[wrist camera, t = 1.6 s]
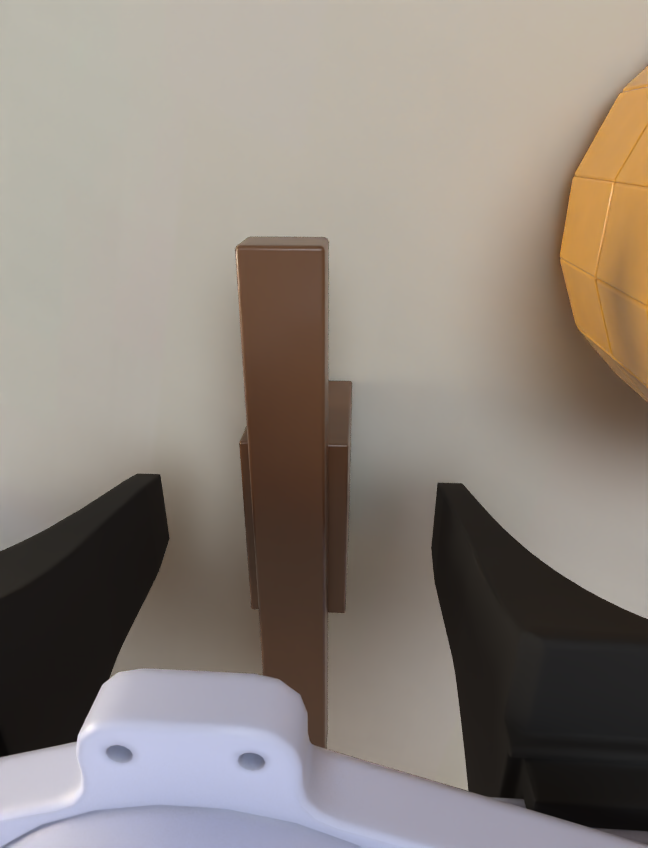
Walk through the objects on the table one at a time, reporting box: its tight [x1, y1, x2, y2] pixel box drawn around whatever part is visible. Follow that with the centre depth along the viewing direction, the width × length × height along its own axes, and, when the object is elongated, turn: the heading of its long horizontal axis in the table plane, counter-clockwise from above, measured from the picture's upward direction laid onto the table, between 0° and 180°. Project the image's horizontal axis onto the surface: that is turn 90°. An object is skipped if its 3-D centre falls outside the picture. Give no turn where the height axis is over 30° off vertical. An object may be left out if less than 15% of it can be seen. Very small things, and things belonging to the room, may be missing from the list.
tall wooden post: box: [235, 237, 352, 749], centre depth 15 cm, size 14×2×5 cm, turn 0°
